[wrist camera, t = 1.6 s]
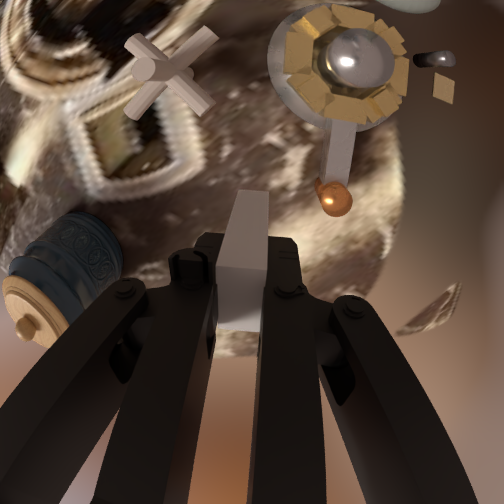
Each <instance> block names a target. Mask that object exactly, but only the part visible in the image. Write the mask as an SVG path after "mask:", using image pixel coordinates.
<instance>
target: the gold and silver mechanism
mask: <svg viewBox="0 0 504 504" xmlns="http://www.w3.org/2000/svg"><path fill="white" fill-rule="evenodd" d="M331 4H333V3H323V4H315V5H310V6H307V7H304V8H301V9H299V10H297V11H295V12H293V13H292V14H290V15H289V16H288V17H286V18H285V19H284V20H283V21H282V22H281V23H280V24H279V26H278V27H277V29H276V30H275V32H274V34H273V36H272V38H271V40H270V44H269V47H268V54H267V64H268V71H269V76H270V79H271V82H272V84H273V86H274V89H275V91H276V92H277V94H278V95H279V97H280V98H281V100H282V101H283V102H284V103H285V105H286V106H287V107H288V108H289V109H290V110H291V111H292V112H294V113H295V114H296V115H298V116H299V117H300V118H302V119H303V120H305V121H306V122H308V123H310V124H312V125H314V126H316V127H319V128H322V129H325V125H326V117H322V116H320V115H318V113H319V112H318V113H315V112H313V111H311V110H310V108H309V107H308V106H307V105H306V104H305V103H304V101H303V100H302V99H301V98H300V97H299V96H298V95H297V93H296V92H295V91H294V90H293V89H292V88H291V87H290V86H289V85H288V83H287V82H286V80H287V79H288V78H289V77H291V76H292V75H285V74H283V62H284V47H285V37H286V33H287V32H289V29H290V26H291V25H292V24H294V23H295V22H297V21H298V20H300V19H301V18H302V17H303V16H304V15H306V14H307V13H309V12H311V11H312V10H314V9H316V8H317V7H318V8H319V7H321V6H323V5H325V6H326V7H327V8H329V7H330V6H331ZM336 5H341V4H336ZM341 6H345V7H349V6H346V5H341ZM349 8H353V7H349ZM354 9H355V8H354ZM376 21H377V20H375V19H374V22H376ZM401 57H403V56H401ZM413 62H414V64H415V65H416V66H417V67H420V68H422V67H453V66H454V65H455V64H456V59H455V56H454V55H453V53H452V52H450V51H447V50H446V51H436V52H429V53H421V54H415V55H414V56H413ZM394 67H395V60H394V55H393V52H392V50H391V48H390V46H389V45H388V43H387V42H386V41H385V40H384V39H383V38H382V37H381V36H379V35H378V34H376V33H375V32H372V31H370V30H367V29H363V28H353V29H349V30H346V31H344V32H343V33H341V34H340V33H335V32H329V33H328V34H326V35H325V36H323V37H321V38H320V39H318V40H317V41H315V42H314V43H313V55H312V70H313V71H314V73H315V74H318V75H319V76H320V77H321V79H322V80H323V81H324V82H325V83H326V85H327V86H328V87H329V88H330V91H331V93H332V94H336V95H341V96H346V97H351V98H356V97H357V96H359V95H360V94H361V93H363V92H364V91H366V90H367V89H369V88H370V87H377V86H380V85H383V84H384V83H386V82H387V81H388V80H389V79H390V78H391V76H392V74H393V71H394ZM454 85H455V81H453V80H451V79H449V78H447V77H445V76H442V75H440V74H438V73H436V72H434V80H433V90H432V96H433V97H435V98H438V99H441V100H443V101H445V102H447V103H450V104H453V94H454ZM399 97H400V99H402V97H403V96H399ZM389 116H390V115H389ZM389 116H388V117H389ZM388 117H383V116H382V117H381V118H379V119H378V120H377V121H375V122H374V123H370V122H367V121H366V125H364V124H360V123H357V128H356V132H359V131H364V130H367V129H370V128H372V127H375V126H377V125H379V124H380V123H382V122H383V121H385V120H386V119H387V118H388Z"/></svg>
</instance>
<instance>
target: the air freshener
mask: <svg viewBox="0 0 504 504" xmlns="http://www.w3.org/2000/svg"><path fill="white" fill-rule="evenodd" d="M376 1H378V2H380V3H382V4H384V5H386V6H388V7H391V8H392V9H395V10H399V11H401V12H406V13H415V14H420V13H427V12H430V11H433V10H434V9H436V8H437V7H438V6H439V4H440V2H441V0H376Z"/></svg>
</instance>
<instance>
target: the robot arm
mask: <svg viewBox="0 0 504 504" xmlns="http://www.w3.org/2000/svg"><path fill="white" fill-rule="evenodd" d="M268 209H269V192H267V191H254V190H238V193H237V197H236V200H235V203H234V206H233V209H232V213H231V216H230V219H229V222H228V226H227V229H226V232H225V234H223V233H209V232H205V233H204V234H203V235H201V236H200V237H199V238H198V239H197V241H196V244H195V247H194V248H186V249H182V250H178V251H176V252H175V253H173V254H172V255H171V256H170V257H169V258H168V261H169V268H170V275H171V282H170V285H167V286H164V287H159V288H150V289H146V286H145V285H144V283H143V281H141V280H139V279H137V278H131V277H130V278H122V279H120V280H117V281H115V282H114V283H112V284H111V285H110V286H109V287H108V288H107V289H106V290H104V291H103V292H102V293H101V294H100V295H99V296H98V297H97V298H96V299H95V300H94V301H93V302H92V303H91V304H90V305H89V306H88V307H87V308H86V309H85V310H84V311H83V313H82V314H81V315H80V316H79V317H78V318H77V319H76V320H75V321H74V322H73V323H72V324H71V325H70V326H69V327H68V328H67V329H66V330H65V331H64V333H63V334H62V335H61V336H60V337H59V338H58V339H57V340H56V341H55V342H54V343H53V345H52V346H51V347H50V348H49V349H48V350H47V351H46V352H45V354H44V355H43V356H42V357H41V358H40V359H39V361H38V362H37V363H36V364H35V365H34V366H33V367H32V369H31V370H30V371H29V372H28V374H27V375H26V376H25V377H24V378H23V380H22V381H21V382H20V383H19V385H18V386H17V387H16V388H15V390H14V391H13V392H12V393H11V395H10V396H9V397H8V398H7V400H6V401H5V402H4V404H3V405H2V407H1V408H0V504H59V503H60V501H61V499H62V498H63V496H64V494H65V493H66V491H67V490H68V488H69V486H70V485H71V483H72V481H73V480H74V478H75V477H76V475H77V473H78V472H79V470H80V469H81V467H82V465H83V464H84V462H85V461H86V459H87V458H88V456H89V454H90V453H91V451H92V450H93V448H94V447H95V445H96V444H97V442H98V440H99V439H100V437H101V435H102V434H103V433H104V431H105V430H106V428H107V427H108V425H109V423H110V422H111V420H112V419H113V417H114V416H115V414H116V413H117V411H118V410H119V412H118V415H117V418H116V421H115V424H114V427H113V430H112V433H111V437H110V440H109V443H108V446H107V449H106V453H105V456H104V460H103V463H102V466H101V470H100V473H99V477H98V481H97V485H96V488H95V492H94V496H93V499H92V501H91V502H90V504H187V502H188V496H189V489H190V483H191V477H192V471H193V464H194V459H195V453H196V447H197V441H198V435H199V430H200V424H201V418H202V412H203V407H204V402H205V396H206V390H207V385H208V380H209V375H210V369H211V364H212V359H213V353H214V348H215V343H216V332H215V331H216V326H217V321H218V328H220V329H230V330H240V331H252V332H260V334H259V343H258V352H257V357H258V358H257V373H256V388H255V402H254V417H253V430H252V443H251V455H250V456H251V457H250V468H249V480H248V492H247V503H246V504H327V503H326V502H327V500H326V469H325V468H326V467H325V449H324V448H325V447H324V432H323V418H322V405H321V395H320V384H319V378H320V381H321V383H322V386H323V388H324V391H325V393H326V396H327V399H328V401H329V404H330V406H331V409H332V412H333V414H334V417H335V420H336V422H337V425H338V427H339V430H340V433H341V435H342V438H343V441H344V443H345V446H346V449H347V451H348V454H349V457H350V460H351V462H352V465H353V468H354V470H355V473H356V475H357V479H358V481H359V484H360V487H361V489H362V492H363V495H364V498H365V501H366V504H478V501H477V498H476V496H475V493H474V491H473V488H472V486H471V483H470V481H469V479H468V476H467V474H466V472H465V469H464V467H463V465H462V463H461V461H460V459H459V456H458V454H457V452H456V450H455V448H454V446H453V444H452V442H451V440H450V438H449V436H448V434H447V432H446V430H445V428H444V426H443V424H442V422H441V420H440V418H439V416H438V414H437V413H436V411H435V409H434V407H433V405H432V403H431V402H430V400H429V398H428V396H427V394H426V392H425V391H424V389H423V387H422V385H421V384H420V382H419V380H418V379H417V377H416V375H415V374H414V372H413V370H412V368H411V367H410V365H409V364H408V362H407V360H406V358H405V357H404V355H403V353H402V352H401V350H400V349H399V347H398V346H397V344H396V342H395V341H394V339H393V337H392V336H391V334H390V333H389V331H388V330H387V328H386V327H385V325H384V323H383V322H382V321H381V319H380V317H379V316H378V314H377V313H376V311H375V310H374V308H373V307H372V306H371V305H370V304H369V303H368V302H367V301H366V300H364V299H362V298H361V297H357V296H354V295H344V296H340V297H338V298H337V299H336V300H335V301H334V303H329V302H326V301H323V300H320V299H317V298H315V297H313V296H312V295H310V294H309V293H308V290H307V288H306V286H305V285H304V284H303V283H302V276H301V268H300V261H299V254H298V248H297V244H296V243H295V242H294V241H293V240H292V238H286V237H274V236H268ZM119 408H120V409H119Z"/></svg>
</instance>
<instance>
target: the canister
mask: <svg viewBox="0 0 504 504" xmlns="http://www.w3.org/2000/svg"><path fill="white" fill-rule="evenodd" d="M122 269H123V255H122V251H121V248H120V245H119V243H118V241H117V239H116V237H115V236H114V234H113V233H112V232H111V230H110V229H109V228H108V227H107V226H106V225H105V224H104V223H103V222H102V221H100V220H99V219H98V218H96V217H94V216H92V215H90V214H88V213H85V212H78V211H77V212H71V213H68V214H66V215H63V216H61V217H60V218H58V219H57V220H56V221H55V222H54V223H53V224H52V225H51V227H50V228H49V229H47V230H46V231H45V232H44V233H43V234H42V235H41V236H39V237H38V238H37V239H36V240H35V241H34V242H32V243H30V244H29V245H28V246H27V247H26V249H25V251H24V255H23V256H19V257H16V258H14V259H13V260H12V262H11V263H10V266H9V276H7V277H6V278H5V279H4V281H3V284H2V288H3V294H4V298H5V304H6V307H7V310H8V312H9V314H10V316H11V317H12V319H13V320H14V322H15V323H16V327H15V330H16V334H17V335H18V337H19V338H20V339H21V340H23V341H26V342H27V341H30V340H34V341H35V342H36V343H38V344H40V345H42V346H44V347H47V348H50V347H51V346H52V345H53V343H54V342H55V341H56V340H57V339H58V338H59V337H60V336H61V335H62V334H63V333H64V331H65V330H66V329H67V328H68V327H69V326H70V325H71V324H72V323H73V322H74V321H75V320H76V319H77V318H78V317H79V316H80V315H81V314H82V313H83V311H84V310H85V309H86V308H87V307H88V306H89V305H90V304H91V303H92V302H93V301H94V300H95V299H96V298H97V297H98V296H99V295H100V294H101V293H102V292H103V291H104V290H106V289H107V288H108V287H109V286H110V285H111V284H112V283H114V282H115V281H117V280H119V278H120V276H121V272H122Z"/></svg>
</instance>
